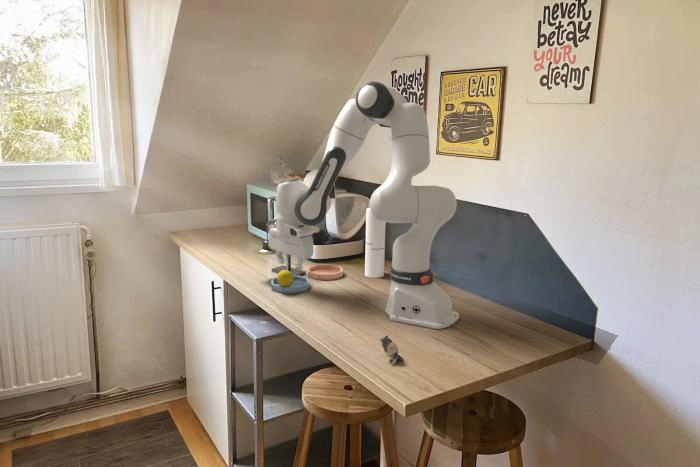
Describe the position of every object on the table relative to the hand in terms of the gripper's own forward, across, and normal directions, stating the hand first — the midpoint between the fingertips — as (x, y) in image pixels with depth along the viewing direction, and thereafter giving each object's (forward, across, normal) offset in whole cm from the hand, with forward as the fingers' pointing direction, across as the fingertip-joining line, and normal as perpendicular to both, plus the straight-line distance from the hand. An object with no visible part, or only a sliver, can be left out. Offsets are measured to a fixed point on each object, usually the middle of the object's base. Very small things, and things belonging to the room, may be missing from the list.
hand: (290, 266), depth 187 cm
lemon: (+6, 0, -1) cm, 6 cm away
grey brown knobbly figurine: (+8, +60, -17) cm, 63 cm away
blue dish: (+8, 0, 0) cm, 8 cm away
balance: (+8, -14, +10) cm, 19 cm away
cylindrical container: (+8, +10, +33) cm, 35 cm away
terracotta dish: (+8, -3, +19) cm, 20 cm away
